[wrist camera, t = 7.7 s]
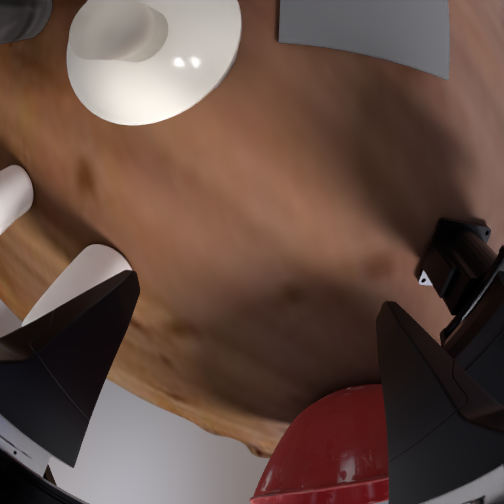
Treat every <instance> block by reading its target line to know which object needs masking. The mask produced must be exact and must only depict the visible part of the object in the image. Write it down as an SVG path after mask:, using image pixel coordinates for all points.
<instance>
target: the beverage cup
mask: <svg viewBox="0 0 504 504" xmlns="http://www.w3.org/2000/svg"><path fill="white" fill-rule="evenodd" d="M51 12H52V0H0V44H4V43H10V42H16V41H20V40H24V39H31V38H33V37H35V36H36V35H38V34H39V33H40V32H41V31H42V29H43V28H44V27H45V25H46V23H47V21H48V20H49V17H50V14H51Z"/></svg>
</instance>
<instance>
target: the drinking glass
mask: <svg viewBox="0 0 504 504" xmlns="http://www.w3.org/2000/svg"><path fill="white" fill-rule="evenodd" d="M32 202H33V186H32V183H31V180H30V178H29V176H28V174H27V172H26V171H25V170H24V169H23V168H22V167H20V166H18V165H10V166H8V167H6V168H4V169H2V170H1V171H0V235H1V234H2V233H3V232H4V231H5V230H6V229H7V228H8V227H9V226H10V225H11V224H12V223H13V222H15V221H16V220H17V219H18V218H19V217H21V216H22V215H23V214H25V213H26V212H27V211H28V210H29V209H30V207H31V205H32Z"/></svg>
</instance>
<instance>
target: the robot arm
mask: <svg viewBox="0 0 504 504" xmlns="http://www.w3.org/2000/svg"><path fill="white" fill-rule="evenodd" d="M443 223H445V224H444V225H443V226H442V224H443ZM490 233H491V230H490V228H489V227H488V226H484V225H479V224H475V223H469V222H464V221H459V220H454V219H448V218H441V219H440V220H439V221H438V223H437V227H436V230H435V233H434V236H433V238H432V241H431V243H430V246H429V249H428V252H427V254H426V257H425V260H424V262H423V265H422V268H421V271H420V273H419V276H418V278H417V280H418V282H419V284H420V285H433V287H434V289H435V290H436V292H437V294H438V296H439V297H440V298H443V300H444V302H445V304H446V306H447V307H448V309H449V311H450V313H451V315H456V316H455V317H454V318H453V320H452V321H451V322H450V323H449V325H448V326H447V327H446V328H444V329H443V330H442V331H441V332H440V340H441V346H440V345H439V344H438V343H437V342H436V341H435V340H434V339H433V338H432V337H431V336H430V335H429V334H428V333H427V332H426V331H425V330H424V329H423V328H422V327H421V326H420V325H419V324H418V323H417V322H416V321H415V320H414V319H413V318H412V317H411V316H410V315H409V314H408V313H407V312H406V311H405V310H404V309H402V308H401V307H400V306H399V305H398V304H397V303H396V302H394V301H385V302H384V303H383V305H382V307H381V310H380V312H379V314H378V316H377V319H376V330H377V347H378V361H379V369H380V376H381V383H382V391H383V399H384V408H385V418H386V430H387V445H388V461H389V462H388V472H389V504H504V245H502V246H501V248H500V250H499V254H498V256H497V255H496V254H495V253H494V251H493V250H492V249H491V248H490V247H489V246H488V245H487V241H488V239H489V236H490ZM423 278H424V279H423ZM422 279H423V280H422ZM139 294H140V286H139V281H138V277H137V273H136V272H135V271H133V270H124V271H122V272H120V273H118V274H116V275H114V276H113V277H111V278H109V279H107V280H105V281H103V282H102V283H100V284H98V285H96V286H94V287H92V288H91V289H89V290H87V291H85V292H83V293H82V294H80V295H78V296H76V297H75V298H73V299H71V300H69V301H68V302H66V303H64V304H62V305H61V306H59V307H57V308H55V309H54V310H52V311H50V312H49V313H47V314H45V315H43V316H42V317H40V318H38V319H36V320H34V321H33V322H31V323H29V324H27V325H25V326H23V327H21V328H19V329H17V330H15V331H13V332H11V333H9V334H7V335H5V336H3V337H1V338H0V504H89V503H87V502H85V501H83V500H81V499H79V498H77V497H75V496H73V495H71V494H70V493H68V492H66V491H64V490H62V489H61V488H59V487H57V485H56V483H55V480H54V478H53V475H52V473H51V470H50V467H49V465H48V462H49V459H50V457H51V456H53V457H54V458H56V459H57V460H59V461H61V462H63V463H65V464H66V465H68V466H70V467H72V468H74V466H75V463H76V460H77V457H78V454H79V451H80V447H81V444H82V441H83V439H84V436H85V432H86V430H87V427H88V424H89V421H90V418H91V416H92V413H93V410H94V407H95V405H96V402H97V400H98V397H99V394H100V392H101V389H102V387H103V384H104V382H105V379H106V377H107V375H108V372H109V370H110V367H111V365H112V363H113V360H114V358H115V356H116V353H117V351H118V349H119V347H120V344H121V342H122V340H123V338H124V336H125V333H126V331H127V329H128V326H129V323H130V320H131V318H132V315H133V312H134V309H135V306H136V303H137V300H138V297H139Z"/></svg>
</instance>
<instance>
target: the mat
mask: <svg viewBox="0 0 504 504" xmlns="http://www.w3.org/2000/svg"><path fill="white" fill-rule="evenodd" d="M279 43H287V44H298V45H308V46H316V47H323V48H330V49H336V50H342V51H347V52H353V53H358V54H362V55H367V56H371V57H375V58H379V59H383V60H387V61H391V62H394V63H398V64H401V65H405V66H408V67H411V68H414V69H417V70H420V71H423V72H426V73H429V74H432V75H434V76H437V77H440V78H442V79H445V80H448V79H449V59H450V27H449V8H448V0H280V22H279Z"/></svg>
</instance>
